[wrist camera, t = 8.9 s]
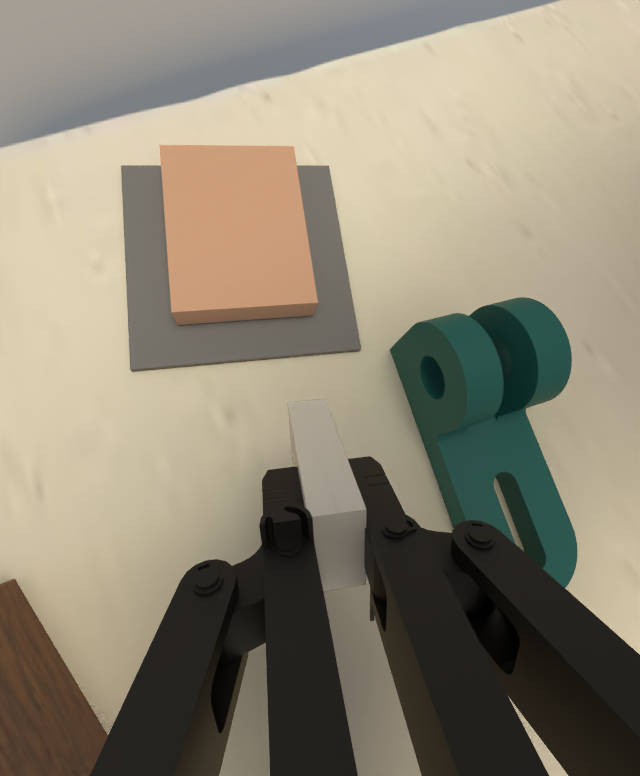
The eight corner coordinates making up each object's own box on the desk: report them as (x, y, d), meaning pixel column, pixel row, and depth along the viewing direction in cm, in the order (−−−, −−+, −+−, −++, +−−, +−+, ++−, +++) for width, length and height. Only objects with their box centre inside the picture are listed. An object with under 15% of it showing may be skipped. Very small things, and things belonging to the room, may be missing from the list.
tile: (313, 316, 28) (290, 169, 31) (318, 302, 26) (293, 146, 28) (177, 326, 26) (166, 169, 29) (171, 312, 24) (159, 145, 27)
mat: (327, 169, 32) (328, 165, 31) (359, 350, 28) (360, 348, 28) (122, 169, 29) (121, 165, 28) (132, 371, 25) (130, 369, 25)
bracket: (388, 350, 29) (436, 301, 21) (469, 329, 30) (540, 277, 23) (481, 609, 26) (576, 660, 18) (567, 572, 27) (688, 604, 20)
